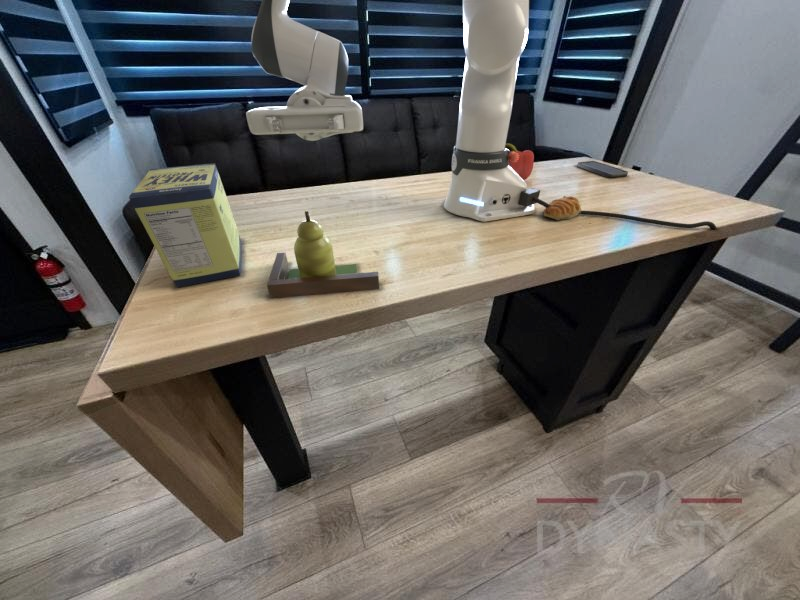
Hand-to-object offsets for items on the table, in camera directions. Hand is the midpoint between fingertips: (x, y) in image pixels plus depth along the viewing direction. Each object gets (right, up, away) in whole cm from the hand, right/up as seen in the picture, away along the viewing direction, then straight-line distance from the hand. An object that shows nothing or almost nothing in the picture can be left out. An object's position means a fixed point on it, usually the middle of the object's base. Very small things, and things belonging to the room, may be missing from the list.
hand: (303, 126), depth 53 cm
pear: (+2, -24, +3) cm, 25 cm away
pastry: (+55, -8, +25) cm, 61 cm away
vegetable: (+51, +9, +47) cm, 70 cm away
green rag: (+2, -25, +3) cm, 25 cm away
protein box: (-20, -21, +8) cm, 30 cm away
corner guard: (+3, -25, +4) cm, 25 cm away
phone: (+84, +15, +55) cm, 102 cm away
